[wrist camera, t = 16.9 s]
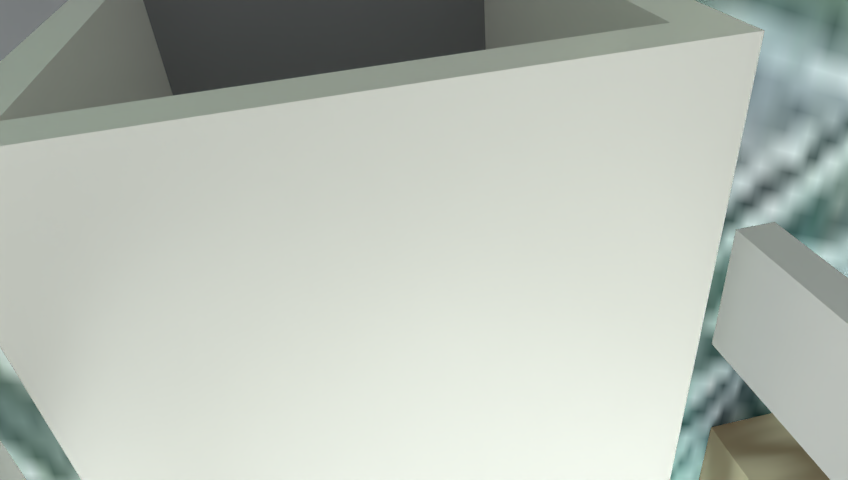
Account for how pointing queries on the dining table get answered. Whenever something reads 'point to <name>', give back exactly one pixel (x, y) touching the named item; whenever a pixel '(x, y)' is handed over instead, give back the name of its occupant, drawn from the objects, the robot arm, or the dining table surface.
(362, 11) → the charcoal mat
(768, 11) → the dining table surface
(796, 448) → the tan block
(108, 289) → the box
